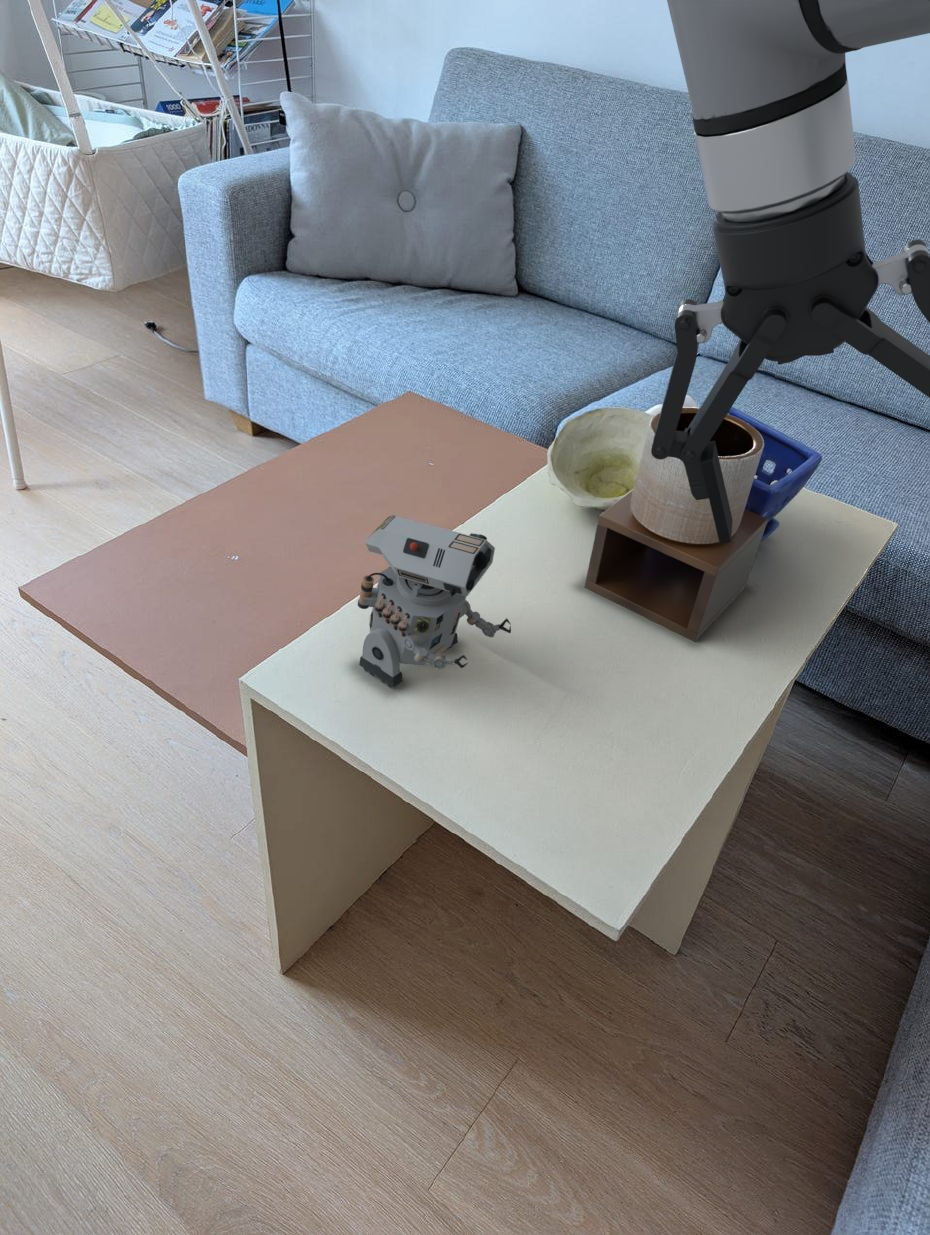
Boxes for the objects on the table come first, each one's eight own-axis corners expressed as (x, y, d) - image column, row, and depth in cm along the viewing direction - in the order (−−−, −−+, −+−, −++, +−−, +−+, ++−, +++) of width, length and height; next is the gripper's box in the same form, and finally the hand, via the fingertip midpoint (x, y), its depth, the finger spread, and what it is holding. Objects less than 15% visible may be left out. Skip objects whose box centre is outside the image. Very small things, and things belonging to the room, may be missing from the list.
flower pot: (689, 483, 110) (724, 398, 102) (783, 537, 105) (828, 452, 97) (632, 522, 102) (665, 433, 94) (731, 583, 97) (775, 494, 89)
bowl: (516, 497, 107) (526, 421, 101) (585, 461, 115) (599, 389, 109) (617, 552, 99) (635, 473, 93) (684, 509, 108) (704, 434, 102)
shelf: (744, 589, 96) (768, 518, 90) (695, 641, 88) (718, 568, 82) (639, 541, 102) (655, 472, 96) (584, 587, 94) (599, 515, 88)
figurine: (441, 724, 77) (453, 585, 67) (347, 660, 82) (347, 524, 72) (505, 673, 82) (525, 538, 73) (414, 617, 88) (421, 485, 78)
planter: (709, 563, 83) (737, 473, 77) (608, 519, 88) (627, 430, 82) (754, 518, 90) (783, 432, 84) (659, 479, 95) (680, 395, 89)
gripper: (1039, 94, 45) (1037, 453, 57) (573, 236, 56) (652, 514, 67) (1073, 130, 40) (1063, 519, 51) (549, 280, 50) (640, 574, 62)
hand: (830, 517), depth 59 cm, fingers open, 13 cm apart
